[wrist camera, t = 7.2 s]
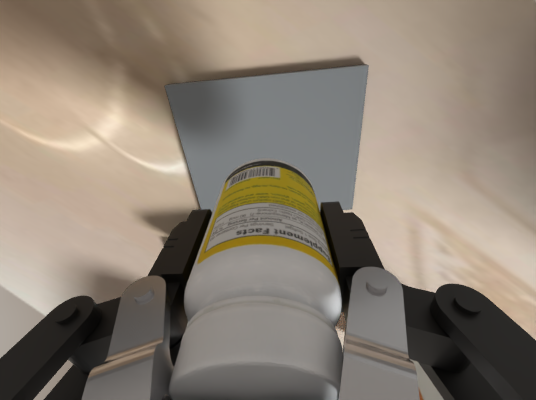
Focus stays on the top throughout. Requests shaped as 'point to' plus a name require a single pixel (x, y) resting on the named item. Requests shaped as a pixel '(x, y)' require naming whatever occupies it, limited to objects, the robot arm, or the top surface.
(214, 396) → the supplement bottle
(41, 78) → the top surface
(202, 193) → the mat
